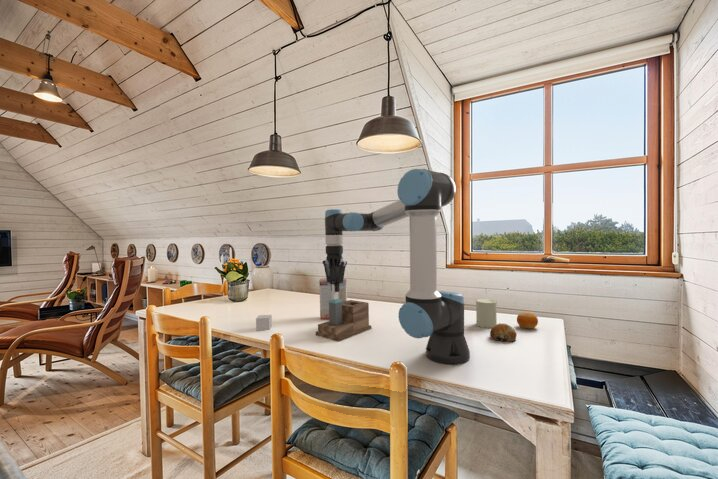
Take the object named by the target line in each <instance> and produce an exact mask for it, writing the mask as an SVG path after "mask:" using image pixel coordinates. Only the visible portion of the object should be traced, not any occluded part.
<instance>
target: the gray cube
mask: <svg viewBox="0 0 718 479" xmlns="http://www.w3.org/2000/svg"><path fill="white" fill-rule="evenodd" d="M272 317H273V316H272V314H259V315H257V317H256V318H255V327H256V328H255V331H256V332H266V331H265V330H269V331H271V329H272V327H273V323H272V321H273V320H272V319H273V318H272Z"/></svg>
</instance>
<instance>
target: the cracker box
mask: <svg viewBox="0 0 718 479" xmlns="http://www.w3.org/2000/svg"><path fill="white" fill-rule="evenodd" d="M347 279H348V278H347V277H344V279H343V283H340V284H339V292H338V293H339V299H341V300H342V302H345V301H348V286H347V284H348V282H347V281H348V280H347ZM318 283H319V312H320V313H319V316H320V320H329V300H332V291H331V284H330V283H329V282H327V279H326V277H322V278H320V279H319V282H318Z"/></svg>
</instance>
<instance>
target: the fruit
mask: <svg viewBox="0 0 718 479" xmlns="http://www.w3.org/2000/svg"><path fill="white" fill-rule="evenodd" d="M516 323H517V324H518V325H519V327H521V328H523V329H535V328H536V327H537V326H538V324H539V320H538V317H537V316H536V314H534V313H530V312H520V313H519V314H517V316H516Z"/></svg>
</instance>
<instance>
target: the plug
mask: <svg viewBox="0 0 718 479" xmlns="http://www.w3.org/2000/svg"><path fill="white" fill-rule="evenodd" d="M328 321H329V325H333V326H338V325H341V324H342V300H341V299H335V300H333V299H332V300H329V319H328Z"/></svg>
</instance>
